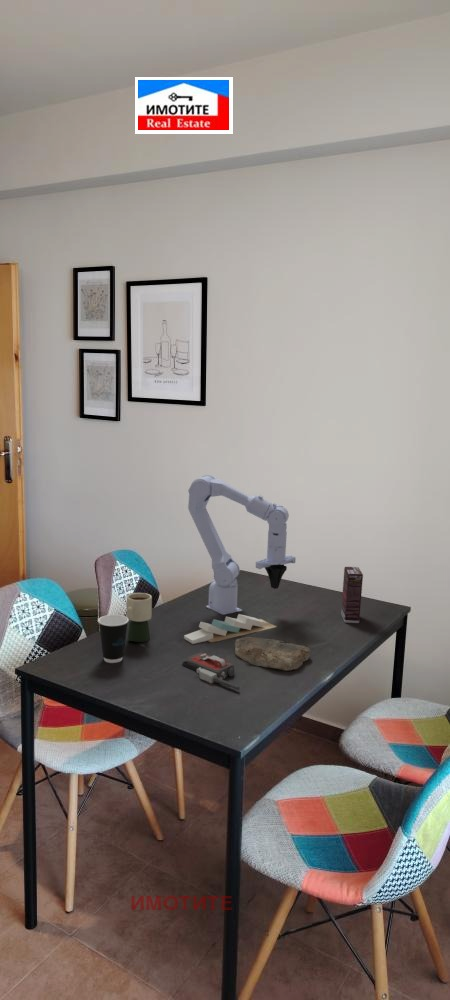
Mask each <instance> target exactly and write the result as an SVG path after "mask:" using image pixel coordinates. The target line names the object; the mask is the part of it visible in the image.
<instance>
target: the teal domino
mask: <svg viewBox="0 0 450 1000" xmlns="http://www.w3.org/2000/svg"><path fill="white" fill-rule="evenodd" d="M211 624H212V625H214V626H216V627H217V628H219V629H222V630H226V631H231V632H235V633H238V632H239V629H240V628H238V627H234V626H232V625H230V624H228V623H226V622H224V621H223V620H218V619H215V618H213V620H212V622H211Z"/></svg>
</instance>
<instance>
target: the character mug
mask: <svg viewBox="0 0 450 1000" xmlns="http://www.w3.org/2000/svg"><path fill="white" fill-rule="evenodd" d="M125 604H126V614H125V616H126V617H127V618H128V619H129V621H130V622H129V624H128V629H127V631H128V632H127V640H128V641H129V642H134V643H138V642H139V643H144V642H148V641H149V640H150V639H151V638H150V637H151V636H150V635H151V634H150V626H149V620H151V619H152V613H153V612H152V610H153V609H152V607H153V598H152V595H151V594H149V593H146V592H132V593H129V594H127V595H126V602H125Z"/></svg>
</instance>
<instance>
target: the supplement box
mask: <svg viewBox="0 0 450 1000" xmlns="http://www.w3.org/2000/svg"><path fill="white" fill-rule="evenodd" d="M363 578H364V574H363V573H362V571H361V569H360V567H358V566H344V568H343V582H342V594H341V595H342V596H341V597H342V598H341V609H340V615H341V616H342V619H343V621H344V623H347V624H359V623H360V619H361V618H360V615H361V607H362V606H361V603H362V593H363V591H362V590H363Z"/></svg>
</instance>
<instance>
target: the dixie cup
mask: <svg viewBox="0 0 450 1000" xmlns="http://www.w3.org/2000/svg"><path fill="white" fill-rule="evenodd" d="M129 621H130V620H129V619H128V618H127V617H126V615H121V614H107V615H103V616H100V617H99V618H98V619H97V622H98V626H99V634H100V642H101V650H102V651H101V653H102V657H103V660H104V662H106V663H109V664H114V663H115V664H116V663H120V662H122V661H123V657H124V655H125V647H126V646H125V645H126V639H127V631H128V623H129Z"/></svg>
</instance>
